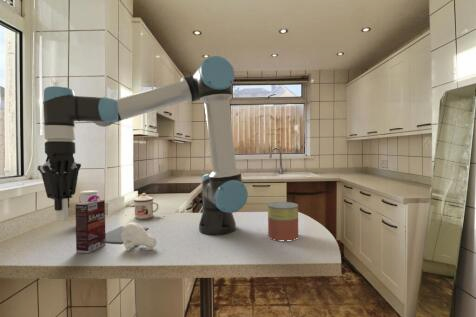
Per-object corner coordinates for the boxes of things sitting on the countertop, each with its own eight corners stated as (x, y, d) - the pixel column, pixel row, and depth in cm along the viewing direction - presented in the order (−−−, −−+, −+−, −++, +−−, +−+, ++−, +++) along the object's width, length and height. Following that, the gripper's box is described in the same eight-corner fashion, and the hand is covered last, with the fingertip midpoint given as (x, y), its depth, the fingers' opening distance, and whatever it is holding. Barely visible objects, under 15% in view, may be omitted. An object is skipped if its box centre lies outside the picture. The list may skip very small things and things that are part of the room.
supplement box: (88, 254, 86) (86, 204, 86) (75, 253, 87) (74, 204, 87) (106, 244, 95) (105, 199, 94) (94, 243, 95) (93, 199, 95)
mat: (148, 228, 113) (148, 227, 113) (121, 243, 95) (121, 242, 95) (121, 227, 115) (121, 226, 115) (89, 241, 98) (89, 240, 98)
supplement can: (104, 222, 123) (103, 190, 123) (85, 227, 116) (84, 193, 116) (94, 220, 128) (93, 189, 127) (76, 224, 121) (75, 191, 120)
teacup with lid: (131, 219, 130) (130, 195, 129) (139, 214, 139) (138, 192, 139) (155, 219, 129) (154, 195, 128) (162, 214, 138) (161, 192, 138)
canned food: (305, 238, 98) (304, 205, 98) (281, 244, 92) (280, 209, 92) (284, 230, 108) (284, 200, 108) (262, 235, 102) (261, 204, 102)
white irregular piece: (131, 219, 94) (161, 224, 91) (130, 243, 95) (160, 249, 92) (119, 224, 88) (151, 230, 85) (117, 249, 89) (149, 256, 85)
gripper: (67, 141, 86) (69, 214, 87) (28, 140, 73) (31, 226, 74) (87, 141, 84) (89, 215, 85) (51, 139, 72) (53, 227, 72)
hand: (62, 220), depth 80 cm, fingers closed
